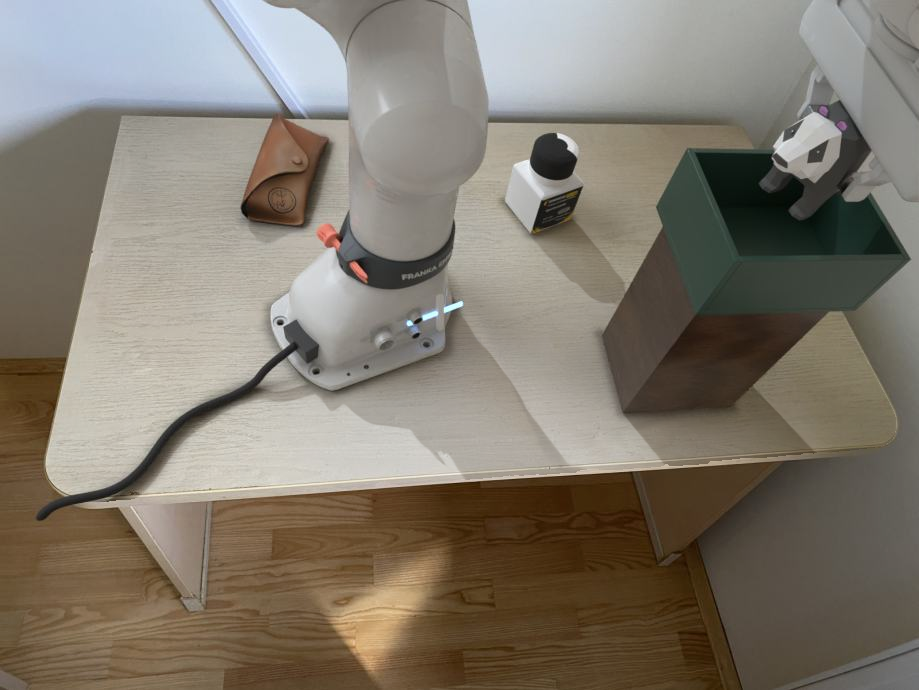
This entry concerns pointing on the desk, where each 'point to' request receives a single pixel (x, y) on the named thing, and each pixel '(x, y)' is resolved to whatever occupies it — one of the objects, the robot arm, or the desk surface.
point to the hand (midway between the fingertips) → (826, 158)
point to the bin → (770, 240)
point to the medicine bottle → (546, 183)
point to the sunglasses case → (283, 174)
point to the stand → (689, 343)
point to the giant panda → (818, 157)
